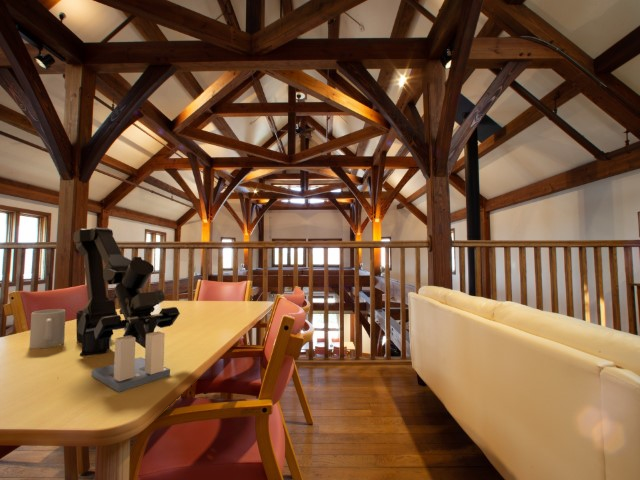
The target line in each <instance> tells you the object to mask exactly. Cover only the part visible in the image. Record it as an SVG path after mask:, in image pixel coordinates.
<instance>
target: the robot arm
mask: <svg viewBox="0 0 640 480" xmlns="http://www.w3.org/2000/svg"><path fill="white" fill-rule="evenodd" d="M113 231H114V230H112V229H110V228H107V227H105V228H103V227H94V228H90V229H89V228H79V229H78V230H76V231H74V233H73V236H72V237H73V238H72V239H73V242H74V243H75V248H76V251H77V252H78V253H79V254H80V255H82V257H83V263H84V272H85V274H84V275H85V284H86V293H87V303H86V304H85V305H84V308H83V309H82V310H83V311H82V312H83V314H82V316H81V318H80V320H79V322H78V324H77V330H76V334H77V333H79V334H82V343H81V351H80V353H79V356H85V355H86V356H87V355H96V354H105V353H107V352H108V350H109V349H110V348H111V347H112V336H113V335H114V330H115V331H117V330H124V333H123V335H122V337H125V336H132V337H135V343H137V344H139V346H141V347H143V348H144V349H145V347H146V334H148V333H153V332H155V329H156V328H157V327H158V328H161V329H163V328H167V327H171V326H172V325H174V324H175V322H176V321H177V319H178V317H179V316H180V315H181V313H180V311H179V309H178V308H177V306H169V307H163V308H161V310H160V311H159V312H158V313H156V314H152V313H154V311H155V307H156V306H157V305H159V304H161V303H163V302H164V301H165V300H166V296H165V293H164V291H163V290H162V289H156V290H154V291H149V292H148V291H146V292H142V290H141V289H143V288H144V287H145V286H146V285H147V283H148V281H149V279H150V277H151V275H152V274H153V272H154V270H155V268H154V265H153V264H152V263H150V262H149V261H147V260H146V259H145V260H144V259H142V256H133V257H132V259H130V258H128V257H126V256H124V255H123V253H122V250H121V248H120V247H119V245H118V243H117V240H115V238H114V232H113ZM103 263H104V264H103ZM104 265H105V266H104ZM106 284H107V285H110V286H112V285H116V286H115V288H114V293H113V299H110V298H109V297H108V296H107V288H106ZM114 299H117V301H118V304H119V306H120V309H119V314H118V312H117V310H116V302H115V300H114ZM121 315H123V317H124V319H122V316H121ZM86 328H87V329H86Z"/></svg>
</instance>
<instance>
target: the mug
mask: <svg viewBox="0 0 640 480" xmlns="http://www.w3.org/2000/svg"><path fill="white" fill-rule="evenodd" d="M65 328H66V310H65V309H64V308H51V309H42V310H35V311H33V312H31V314H30V331H29V332H30V333H29V349H32V348H33V350H38V349H39V350H40V348H43V349H48V348H49V347H50V348H55V347H58V346H61V345H63V344H64V343H65V339H66V338H65V336H66V335H65V331H66V329H65ZM54 346H55V347H54Z"/></svg>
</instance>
